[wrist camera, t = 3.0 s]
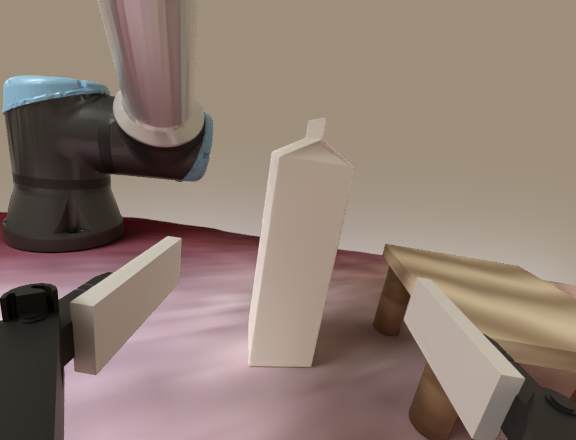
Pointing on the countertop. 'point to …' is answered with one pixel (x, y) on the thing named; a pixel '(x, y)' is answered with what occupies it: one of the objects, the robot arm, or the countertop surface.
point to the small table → (479, 319)
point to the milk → (297, 249)
